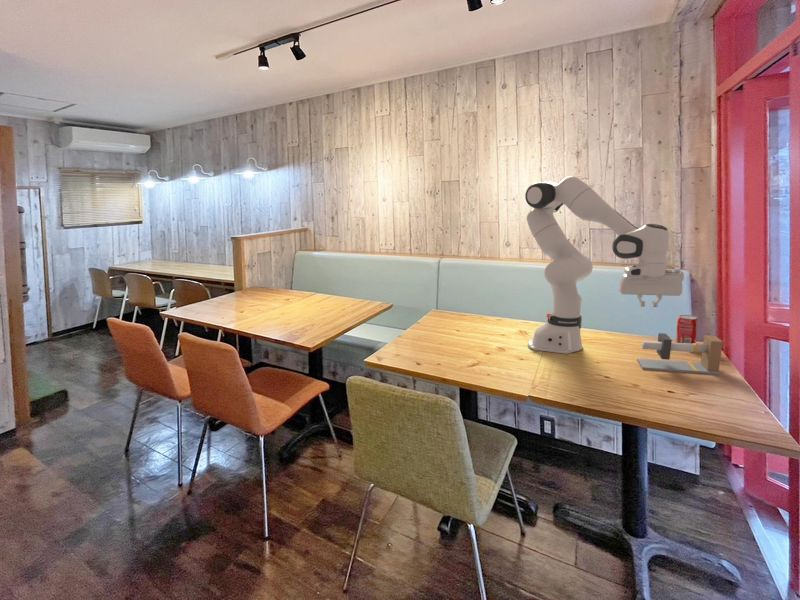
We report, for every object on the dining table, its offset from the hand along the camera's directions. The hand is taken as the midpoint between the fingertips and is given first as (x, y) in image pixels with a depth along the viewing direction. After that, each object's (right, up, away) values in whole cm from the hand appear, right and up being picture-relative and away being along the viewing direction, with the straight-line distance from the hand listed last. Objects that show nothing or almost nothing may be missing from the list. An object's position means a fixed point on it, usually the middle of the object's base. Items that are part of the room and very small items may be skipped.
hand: (648, 306), depth 164 cm
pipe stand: (+11, -23, +2) cm, 26 cm away
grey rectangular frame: (+7, -19, +3) cm, 20 cm away
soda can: (+28, -17, +23) cm, 40 cm away
